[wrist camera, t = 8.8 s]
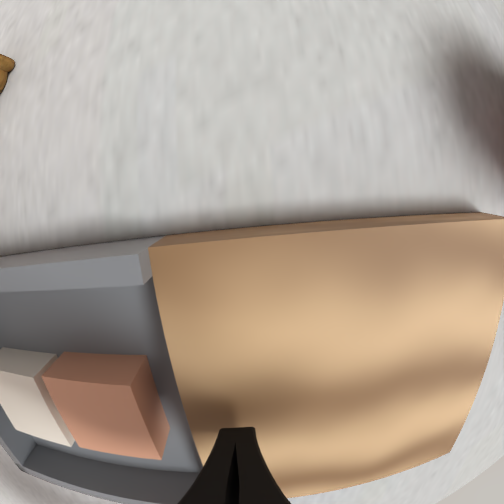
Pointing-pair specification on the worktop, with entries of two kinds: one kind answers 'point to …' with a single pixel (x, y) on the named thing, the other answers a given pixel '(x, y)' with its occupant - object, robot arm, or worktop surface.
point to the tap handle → (5, 69)
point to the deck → (333, 338)
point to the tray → (98, 342)
